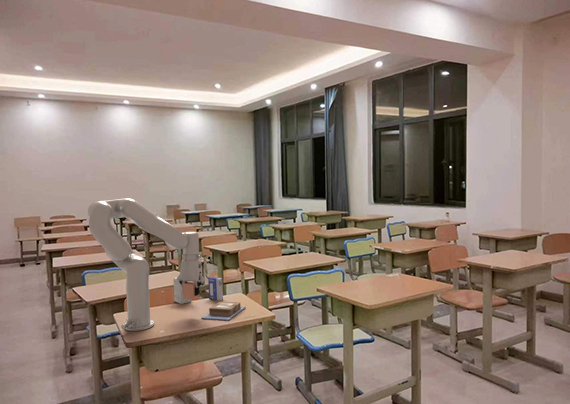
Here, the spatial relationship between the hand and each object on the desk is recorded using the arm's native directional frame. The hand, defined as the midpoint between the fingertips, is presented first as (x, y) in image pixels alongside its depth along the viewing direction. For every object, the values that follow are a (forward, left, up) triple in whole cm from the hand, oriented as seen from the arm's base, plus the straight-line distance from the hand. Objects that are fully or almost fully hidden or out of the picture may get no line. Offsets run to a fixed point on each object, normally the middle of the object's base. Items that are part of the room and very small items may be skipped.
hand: (191, 294), depth 196 cm
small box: (+21, +17, -10) cm, 29 cm away
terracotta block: (0, 0, -1) cm, 1 cm away
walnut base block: (+7, -15, -10) cm, 19 cm away
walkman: (+29, +1, -10) cm, 31 cm away
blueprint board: (+6, -15, -10) cm, 19 cm away
